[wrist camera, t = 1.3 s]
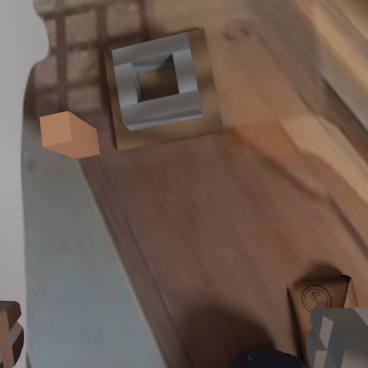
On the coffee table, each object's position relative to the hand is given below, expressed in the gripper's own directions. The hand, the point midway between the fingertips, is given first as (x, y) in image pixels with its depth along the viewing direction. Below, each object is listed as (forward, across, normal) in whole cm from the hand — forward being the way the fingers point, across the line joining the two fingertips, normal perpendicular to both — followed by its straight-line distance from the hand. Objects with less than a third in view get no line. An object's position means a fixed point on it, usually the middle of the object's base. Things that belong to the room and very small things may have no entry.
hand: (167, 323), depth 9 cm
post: (+42, +14, +3) cm, 45 cm away
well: (+44, +2, -6) cm, 44 cm away
